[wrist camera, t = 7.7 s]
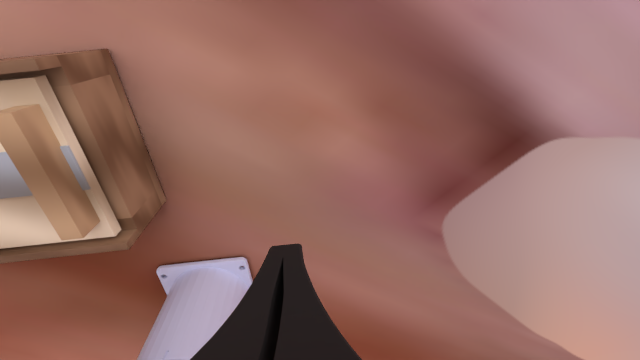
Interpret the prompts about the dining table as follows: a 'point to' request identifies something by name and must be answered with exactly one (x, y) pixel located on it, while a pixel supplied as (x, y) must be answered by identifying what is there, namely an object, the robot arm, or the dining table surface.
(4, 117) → the lid
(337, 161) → the dining table surface
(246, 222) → the dining table surface
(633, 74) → the dining table surface
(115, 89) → the keepsake box
